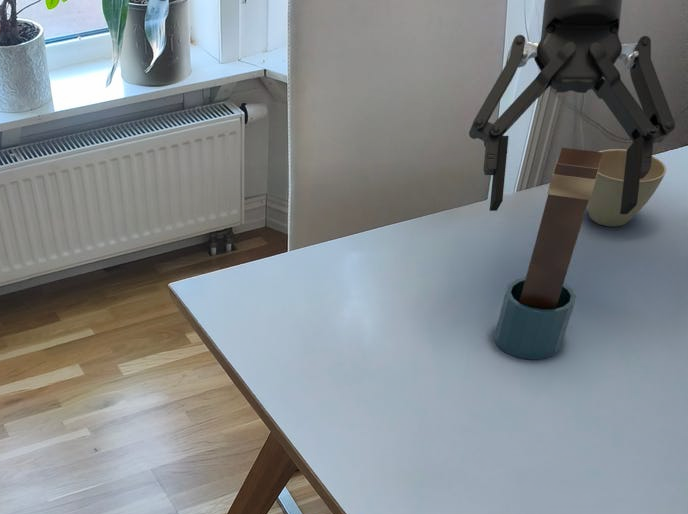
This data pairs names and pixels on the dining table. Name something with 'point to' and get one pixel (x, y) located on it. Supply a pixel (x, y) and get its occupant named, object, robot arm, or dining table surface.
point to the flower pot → (619, 188)
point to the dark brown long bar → (560, 226)
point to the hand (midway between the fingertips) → (561, 208)
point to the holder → (532, 324)
